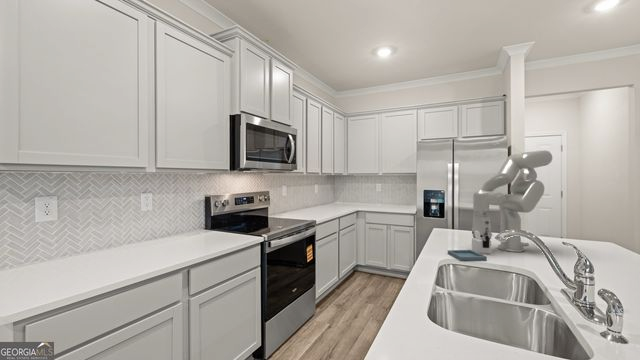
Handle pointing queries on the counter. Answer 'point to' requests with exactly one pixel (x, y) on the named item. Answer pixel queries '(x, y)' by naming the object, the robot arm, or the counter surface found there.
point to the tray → (467, 255)
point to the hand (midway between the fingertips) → (481, 245)
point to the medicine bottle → (480, 244)
